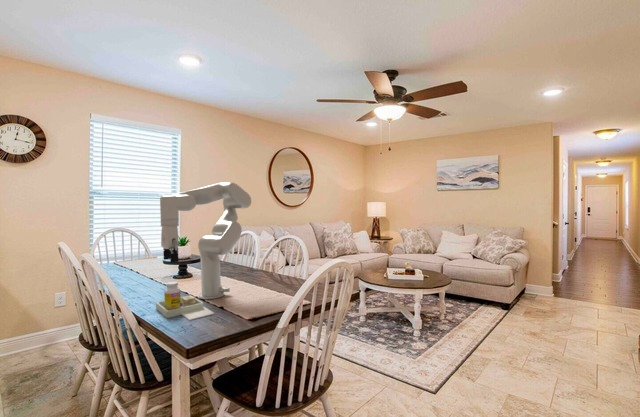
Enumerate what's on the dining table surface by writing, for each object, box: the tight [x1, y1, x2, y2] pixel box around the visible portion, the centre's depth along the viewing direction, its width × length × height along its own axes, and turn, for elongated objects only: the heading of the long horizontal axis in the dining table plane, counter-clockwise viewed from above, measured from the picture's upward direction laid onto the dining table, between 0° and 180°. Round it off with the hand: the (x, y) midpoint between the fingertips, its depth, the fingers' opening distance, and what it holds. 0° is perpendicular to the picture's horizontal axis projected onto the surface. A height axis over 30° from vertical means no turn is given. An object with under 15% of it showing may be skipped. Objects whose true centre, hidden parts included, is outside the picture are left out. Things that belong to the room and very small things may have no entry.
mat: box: [180, 306, 215, 321], centre depth 149 cm, size 11×11×1 cm
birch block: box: [181, 295, 196, 308], centre depth 158 cm, size 4×4×4 cm
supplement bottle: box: [163, 281, 182, 311], centre depth 153 cm, size 7×7×13 cm
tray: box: [155, 295, 205, 319], centre depth 155 cm, size 16×16×3 cm
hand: (170, 260), depth 152 cm, fingers open, 9 cm apart
